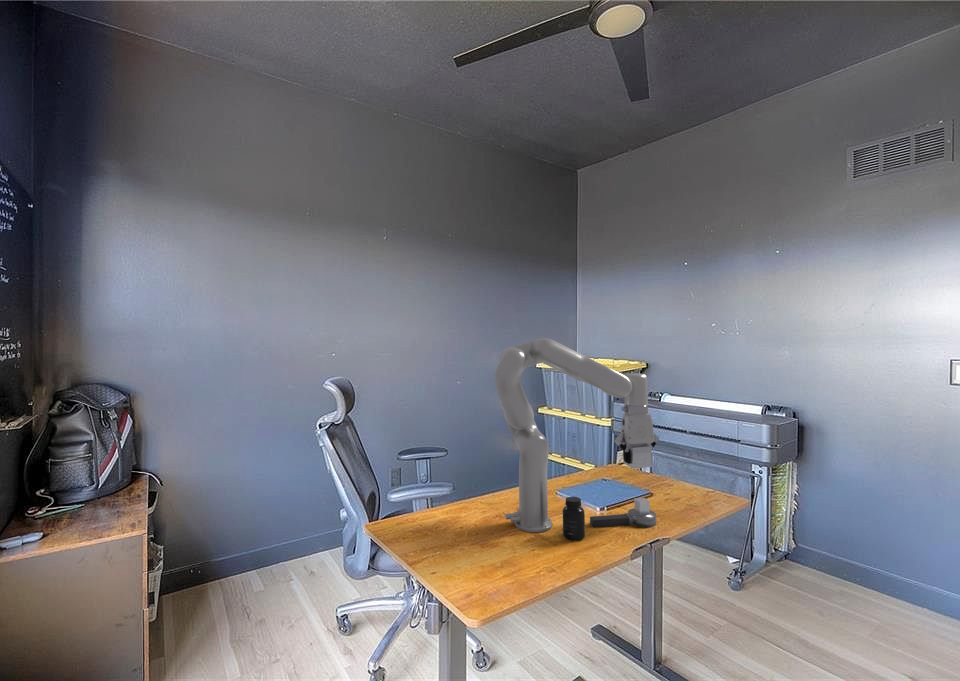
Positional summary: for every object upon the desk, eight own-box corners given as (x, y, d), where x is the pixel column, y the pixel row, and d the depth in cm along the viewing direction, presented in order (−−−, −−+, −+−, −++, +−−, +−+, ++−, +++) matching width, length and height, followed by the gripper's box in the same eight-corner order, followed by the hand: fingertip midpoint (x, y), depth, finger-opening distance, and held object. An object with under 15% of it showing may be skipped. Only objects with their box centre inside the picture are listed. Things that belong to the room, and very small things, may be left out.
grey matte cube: (633, 468, 152) (632, 447, 152) (623, 463, 159) (622, 443, 159) (652, 467, 154) (651, 446, 153) (641, 461, 160) (640, 441, 160)
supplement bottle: (567, 530, 149) (566, 493, 149) (587, 535, 145) (587, 497, 145) (559, 538, 143) (559, 500, 143) (580, 543, 140) (580, 504, 139)
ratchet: (597, 531, 148) (597, 508, 148) (586, 520, 157) (586, 498, 157) (661, 526, 152) (661, 503, 152) (647, 515, 161) (647, 494, 161)
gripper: (617, 413, 151) (619, 466, 151) (665, 410, 154) (667, 463, 154) (607, 409, 158) (608, 460, 158) (653, 406, 161) (654, 457, 161)
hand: (637, 461), depth 156 cm, fingers closed on grey matte cube, 6 cm apart
